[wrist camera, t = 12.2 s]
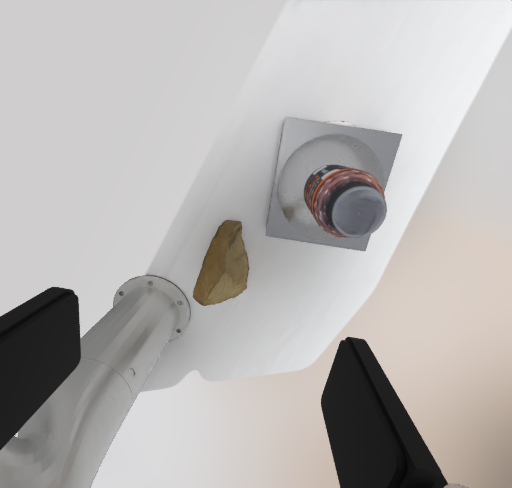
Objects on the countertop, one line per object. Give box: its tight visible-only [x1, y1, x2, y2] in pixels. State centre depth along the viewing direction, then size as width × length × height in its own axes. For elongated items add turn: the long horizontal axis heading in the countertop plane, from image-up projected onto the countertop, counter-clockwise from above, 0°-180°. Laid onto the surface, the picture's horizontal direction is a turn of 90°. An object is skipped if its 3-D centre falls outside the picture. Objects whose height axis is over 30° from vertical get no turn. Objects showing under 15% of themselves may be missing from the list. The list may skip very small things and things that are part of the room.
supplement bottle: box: [304, 165, 387, 238], centre depth 24 cm, size 6×6×11 cm
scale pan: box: [278, 134, 384, 239], centre depth 29 cm, size 12×12×1 cm
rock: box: [193, 220, 249, 306], centre depth 35 cm, size 11×9×10 cm
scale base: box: [266, 117, 402, 251], centre depth 32 cm, size 14×13×4 cm
